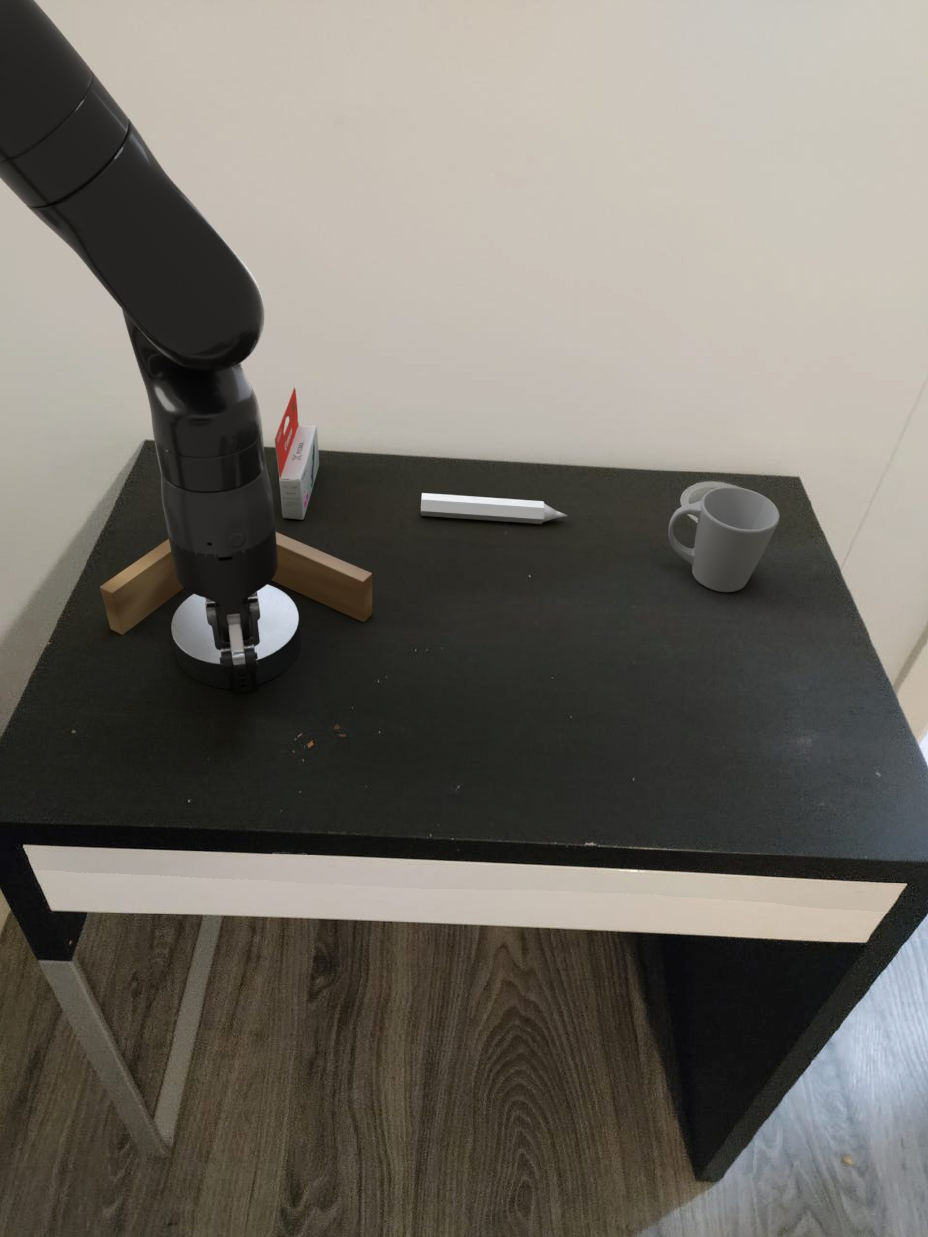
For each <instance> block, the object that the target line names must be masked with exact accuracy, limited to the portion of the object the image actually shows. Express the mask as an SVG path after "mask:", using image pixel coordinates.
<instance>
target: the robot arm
mask: <svg viewBox="0 0 928 1237" xmlns="http://www.w3.org/2000/svg"><path fill="white" fill-rule="evenodd" d="M0 180H1V181H2V182H4V184H5V185H6V187H8V188H9V189H10V190H11V191H12V193H13V194H14V195H16V196H17V197H18V198H19V200H20V201H21V202H22V203H23V204H24V205H26V207H27V208H28V209H29V210H30V211H31V212H32V213H33V214H34V215H35V216H36V218H38V219H39V220H40V221H41V222H43V224H45V225H46V226H47V228H49V229H50V230H51V231H52V232H53V233H54V234H56V235H57V236H58V237H59V238H60V239H61V240H62V241H63V242H64V243H65V244H66V245H68V247H69V248H71V249H72V251H73V252H74V253H75V254H76V255H77V256H78V257H79V258H80V259H81V260H82V262H83V263H84V264H85V266H86V267H87V269H89V271H90V272H91V273H92V274H93V276H94V277H95V278H96V279H97V280H98V282H99V283H100V284H101V285H102V286H103V288H104V289H105V290H106V291H107V292H108V294H109V295H110V296H111V298H112V299H114V301H115V302H116V304H117V305H118V306H119V308H120V309H121V311H122V315H123V319H124V323H125V327H126V331H127V334H128V337H129V340H130V343H131V347H132V350H133V354H134V356H135V360H136V363H137V366H138V369H139V373H140V376H141V378H142V381H143V383H144V387H145V390H146V394H147V399H148V403H149V408H150V415H151V425H152V426H151V427H152V434H153V439H154V444H155V450H156V455H157V456H156V457H157V461H158V467H159V472H160V473H159V474H160V493H161V503H162V510H163V514H164V519H165V525H166V531H167V536H168V539H169V542H170V548H171V553H172V559H173V564H174V569H175V574H176V577H177V579H178V581H179V582H180V584H181V585H182V586H183V587H184V589H185V590H187V591H188V592H190V593H191V594H192V595H193V594H195V595H198V596H201V597H204V598H206V602H205V608H206V615H207V621H208V624H209V625H210V626H212V630H213V636H214V642H215V647H216V649H218V650H221V657H219V659H220V664H222V666H223V673H225V676H226V677H228V678H229V684H230V689H229V690H230V693H231V695H233V696H242V695H248V694H254V693H256V692H257V691H258V689H259V687H258V685H257V678H256V673H257V668H259V667H258V662H256V659H258V656H257V652H255V649H254V647H255V646H257V645H258V644H259V643H260V638H259V629H258V620H259V619H260V608H259V600H258V596H257V591H258V590H260V589H262V588H263V587H264V586H266V585H269V584H270V583H271V580H272V579H273V577H274V576H275V574H276V571H277V568H278V552H277V542H276V532H277V530H276V521H275V510H274V498H273V497H274V496H273V491H272V490H273V489H272V486H271V485H272V483H271V480H270V477H269V473H268V468H267V463H266V454H265V444H264V443H265V442H264V432H263V423H262V413H261V409H260V404H259V401H258V399H257V396H256V392H255V391H254V389H253V387H252V385H251V383H250V382H249V380H248V378H247V376H246V374H245V371H244V369H243V367H242V362H244V361H245V360H247V359H248V357H250V356H251V354H252V353H253V352H254V350H255V349H256V348H257V346H258V344H259V342H260V340H261V337H262V334H263V330H264V326H265V305H264V300H263V296H262V295H263V294H262V293H261V290H260V289H261V288H260V286H259V285H258V283H257V281H256V278H255V277H254V276H253V273H252V272H251V271H250V269H249V268H248V267H247V266H246V264H245V263H244V262H243V260H242V259H241V258H240V257H239V255H238V254H237V253H236V252H235V251H234V250H233V249H232V247H231V246H230V245H229V243H228V242H226V240H225V239H224V238H223V236H221V235H220V233H219V232H218V231H217V230H216V229H215V227H214V226H213V225H212V224H211V222H209V220H208V219H207V218H206V217H205V216H204V215H203V214H202V213H201V211H200V210H199V209H198V208H197V207H196V206H195V205H194V203H193V202H192V201H191V200H190V199H189V197H187V195H186V194H185V193H184V192H183V191H182V190H181V189H180V188H179V187H178V186H177V185H176V183H175V182H174V181H173V180H172V178H170V176H169V175H168V174H167V172H166V171H165V170H164V168H163V166H162V165H161V164H160V163H159V161H158V160H157V158H156V157H155V155H154V153H153V152H152V151H151V149H150V147H149V146H148V144H147V143H146V141H145V139H144V138H143V136H142V135H141V133H140V132H139V130H138V128H136V126H135V125H134V124H133V122H132V121H131V119H130V118H129V117H128V115H127V114H126V113H125V112H124V110H123V109H122V107H121V106H120V105H119V103H117V101H116V100H115V98H113V96H112V95H111V94H110V92H109V91H108V90H107V88H106V86H104V85H103V83H102V82H101V81H100V79H99V78H98V77H97V75H96V74H95V73H94V72H93V70H92V68H91V67H90V66H89V65H88V64H87V62H86V61H85V59H84V58H83V57H82V56H81V55H80V54H79V51H77V50H76V48H75V47H74V46H73V45H72V43H71V42H70V41H69V40H68V38H67V37H66V36H65V35H64V34H63V32H62V31H61V30H60V29H59V27H57V25H56V24H55V23H54V22H53V20H52V19H51V18H50V17H49V16H48V14H47V13H46V12H45V11H44V10H43V8H41V7H40V5H39V4H38V3H37V2H36V0H0Z"/></svg>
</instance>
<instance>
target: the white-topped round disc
mask: <svg viewBox="0 0 928 1237" xmlns="http://www.w3.org/2000/svg"><path fill="white" fill-rule="evenodd" d="M257 596H258V600H259V608H260V619H259V620H258V629H259V638H260V643H259V644H258V645H257V646H255V647H254V649H255V652H257V656H258V659H256V662H258V667H259V668H257V673H256V678H257V686H258V685H263V684H265V683H267V682H270V681H272V680H274V679H276V678H277V677H279V676H281V675H282V674H283V673H284V672H286V671H287V670H288V669H289V668H290V667H291V666H292V665H293V664H294V662H295V661H296V659H297V657H298V655H299V653H300V651H301V650H300V649H301V644H302V640H301V639H302V638H301V627H300V626H301V624H300V614H299V610H298V607H297V605H296V603H295V602H294V600H293V599H292V598H291V597H290V596H289V595H288V594H287V593H286V592H284V591H282V589H280V588H277V587H275V586H272V585H270V584H267V585H266V586H264V587H263V588H262V589H260V590H258V591H257ZM205 602H206V598H204V597H201V596H198V595H195V594H193V593H192V595H190V596H188V597H187V598H186V599H184V600H183V602H181V604H180V605H179V606H178V607H177V609H176V610H175V612H174V614H173V616H172V619H171V622H170V625H171V626H170V631H171V637H172V642H173V646H174V652H175V657H176V660H177V663H178V665H179V667H180V668H181V669H182V671H183V672H184V673H185V674H186V675H187V676H188V677H190V678H191V679H193V680H194V681H196V682H198V683H200V684H202V685H206V686H208V687H213V688H217V689H225V690H226V689H227V690H230V684H229V678H228V677H226V676H225V673H223V666H222V664H220V659H219V657H221V650H218V649H216V647H215V642H214V636H213V630H212V626H210V625H209V624H208V621H207V615H206V608H205Z"/></svg>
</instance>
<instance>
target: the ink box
mask: <svg viewBox="0 0 928 1237" xmlns="http://www.w3.org/2000/svg"><path fill="white" fill-rule="evenodd" d="M289 397H290V398H289V399H288V402H287V405H286V408H285V410H284V413H283V415H282V418H281V421H280V422H279V426H278V428H277V431H276V434H275V436H274V446H275V447H274V448H275V455H276V462H277V471H278V479H279V480H278V481H279V492H280V502H281V503H280V504H281V515H282V519H289V520H290V519H291V520H300V521H303V520H304V519H305V515H306V512H307V510H308V506H309V502H310V499H311V496H312V493H313V489H314V485H315V482H316V478H317V475H318V471H319V468H320V454H319V438H318V427H317V425H303V424H302V425H301V424H299V413H298V401H297V400H298V399H297V391H296V387H293V390H292V392H291V394H290V396H289ZM287 417H288V421H287V425H286V419H287ZM285 425H286V426H285ZM285 427H286V428H285Z"/></svg>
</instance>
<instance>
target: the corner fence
mask: <svg viewBox="0 0 928 1237" xmlns="http://www.w3.org/2000/svg"><path fill="white" fill-rule="evenodd" d="M276 542H277V552H278V568H277V571H276V574H275V576H274V577H273V579H272V580H271V581H272V582H274V583H276V584H278V585H280V586H282V587H285V588H287V589H289V590H290V591H291V590H292V591H293V592H296V593H297V594H300V595H302V596H305V597H306V598H309V599H311V600H313V601H315V602H318V603H320V604H323V605H324V606H326V607H329V608H331V609H334V610H335V611H338V612H341V614H343V615H346V616H348V617H351V618H353V619H355V620H357V621H359V622H362V623H365V622H366V621H367V620H368V619H369V618H370V617H371V616H372V615H373V573H372V572H370V571H368V570H365V569H364V568H361V567H359V566H356V565H354V564H352V563H349V562H347V561H345V560H342V559H339V558H337V557H335V556H333V555H331V554H329V553H326V552H324V551H321V550H319V549H317V548H315V547H313V546H309V545H308V544H305V543H303V542H300V541H298V540H296V539H295V538H291V537H290V536H286V535H284V534H282V533H280V532H277V531H276ZM271 581H270V582H271ZM99 589H100V592H101V597H102V601H103V605H104V609H105V612H106V616H107V620H108V624H109V629H110V630H112V631H114V632H116V633H118V634H119V635H122V636H123V635H125V634H126V633H127V632H129V631H130V630H131V629H133V628H134V627H135V626H136V625H138V624H139V623H140V622H142V621H143V620H144V619H146V618H147V617H148V616H150V615H151V614H152V613H154V612H155V611H156V610H158V609H159V608H160V607H161V606H162V605H164V604H165V603H167V602H168V601H169V600H171V599H172V598H173V597H174V596H176V595H177V594H179V593H180V592H181V591H182V590H184V589H185V588H184V587H183V586H182V585H181V584H180V582H179V581H178V579H177V577H176V574H175V569H174V564H173V559H172V553H171V548H170V542H169V538H168V539H166V540H165V541H163V542H161V544H159V545H157V546H156V547H155V548H153V549H152V550H151V551H149V552H148V553H146V554H145V555H143V556H142V557H140V558H139V559H138V560H136V561H135V562H133V563H132V564H131V565H129V566H128V567H126V568H125V569H123V570H122V571H120V572H119V573H118V574H116V575H114V576H113V577H112V578H111V579H109V580H107V581H106V582H104V583H103V584H102V585H100V586H99Z"/></svg>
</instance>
